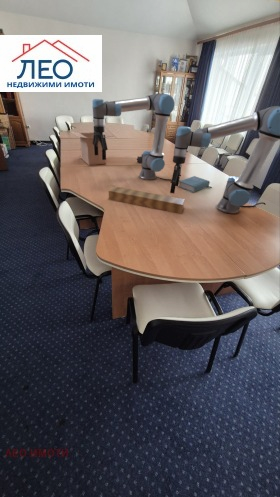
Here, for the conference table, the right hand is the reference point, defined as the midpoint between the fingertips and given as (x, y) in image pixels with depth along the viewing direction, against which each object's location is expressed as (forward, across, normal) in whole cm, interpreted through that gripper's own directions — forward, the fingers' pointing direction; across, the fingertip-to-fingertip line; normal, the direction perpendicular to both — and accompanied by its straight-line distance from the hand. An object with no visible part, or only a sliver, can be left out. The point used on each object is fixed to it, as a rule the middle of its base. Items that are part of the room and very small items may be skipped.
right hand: (174, 189), depth 146 cm
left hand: (-8, +16, +62) cm, 64 cm away
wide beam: (+14, +1, +19) cm, 24 cm away
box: (+15, +78, +101) cm, 128 cm away
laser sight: (+15, +100, +48) cm, 112 cm away
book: (+14, +52, -10) cm, 55 cm away
